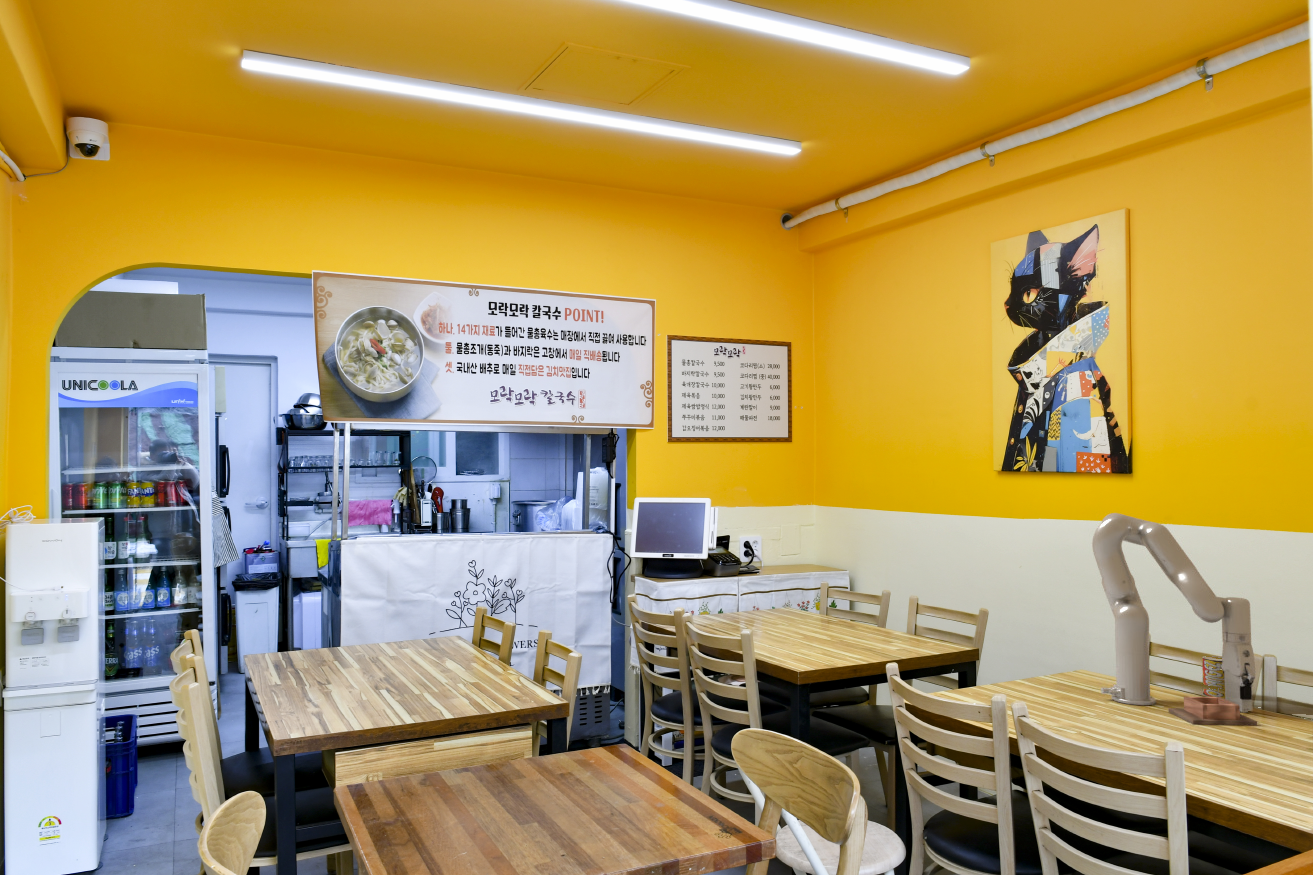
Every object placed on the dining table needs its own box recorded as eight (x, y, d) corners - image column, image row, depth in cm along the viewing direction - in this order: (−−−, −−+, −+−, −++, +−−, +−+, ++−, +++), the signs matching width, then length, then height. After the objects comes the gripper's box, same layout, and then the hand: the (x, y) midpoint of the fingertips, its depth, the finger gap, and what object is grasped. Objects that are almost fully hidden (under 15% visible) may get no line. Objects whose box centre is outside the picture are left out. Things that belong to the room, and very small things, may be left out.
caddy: (1193, 724, 262) (1192, 706, 262) (1168, 712, 276) (1168, 694, 276) (1257, 725, 261) (1256, 707, 261) (1229, 712, 275) (1228, 695, 275)
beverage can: (1201, 690, 305) (1200, 654, 305) (1232, 693, 301) (1231, 657, 301) (1204, 696, 296) (1203, 659, 297) (1237, 699, 293) (1236, 661, 293)
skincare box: (1253, 711, 277) (1251, 672, 277) (1242, 712, 275) (1241, 673, 276) (1235, 707, 282) (1234, 668, 283) (1224, 708, 281) (1223, 669, 282)
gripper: (1266, 643, 271) (1268, 703, 270) (1232, 633, 288) (1234, 690, 288) (1240, 642, 272) (1242, 703, 271) (1208, 633, 289) (1210, 689, 288)
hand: (1238, 695), depth 279 cm, fingers closed on skincare box, 7 cm apart
